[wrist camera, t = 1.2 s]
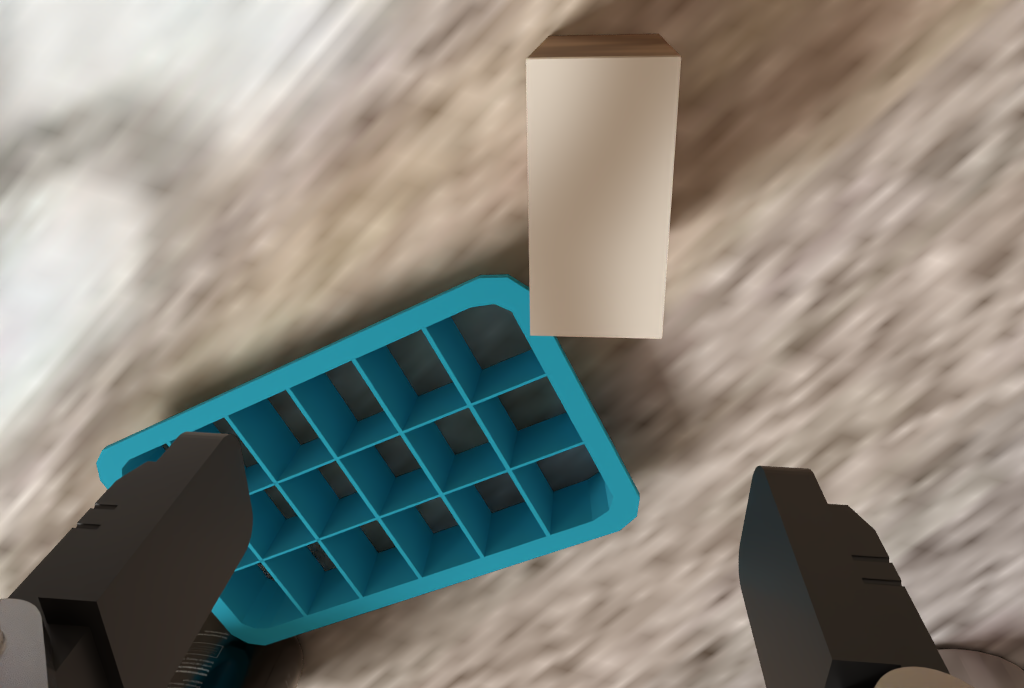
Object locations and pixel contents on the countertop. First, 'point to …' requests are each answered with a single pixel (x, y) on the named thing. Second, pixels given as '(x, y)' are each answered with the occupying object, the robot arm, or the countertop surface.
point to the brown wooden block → (600, 183)
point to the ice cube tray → (380, 495)
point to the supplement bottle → (237, 661)
